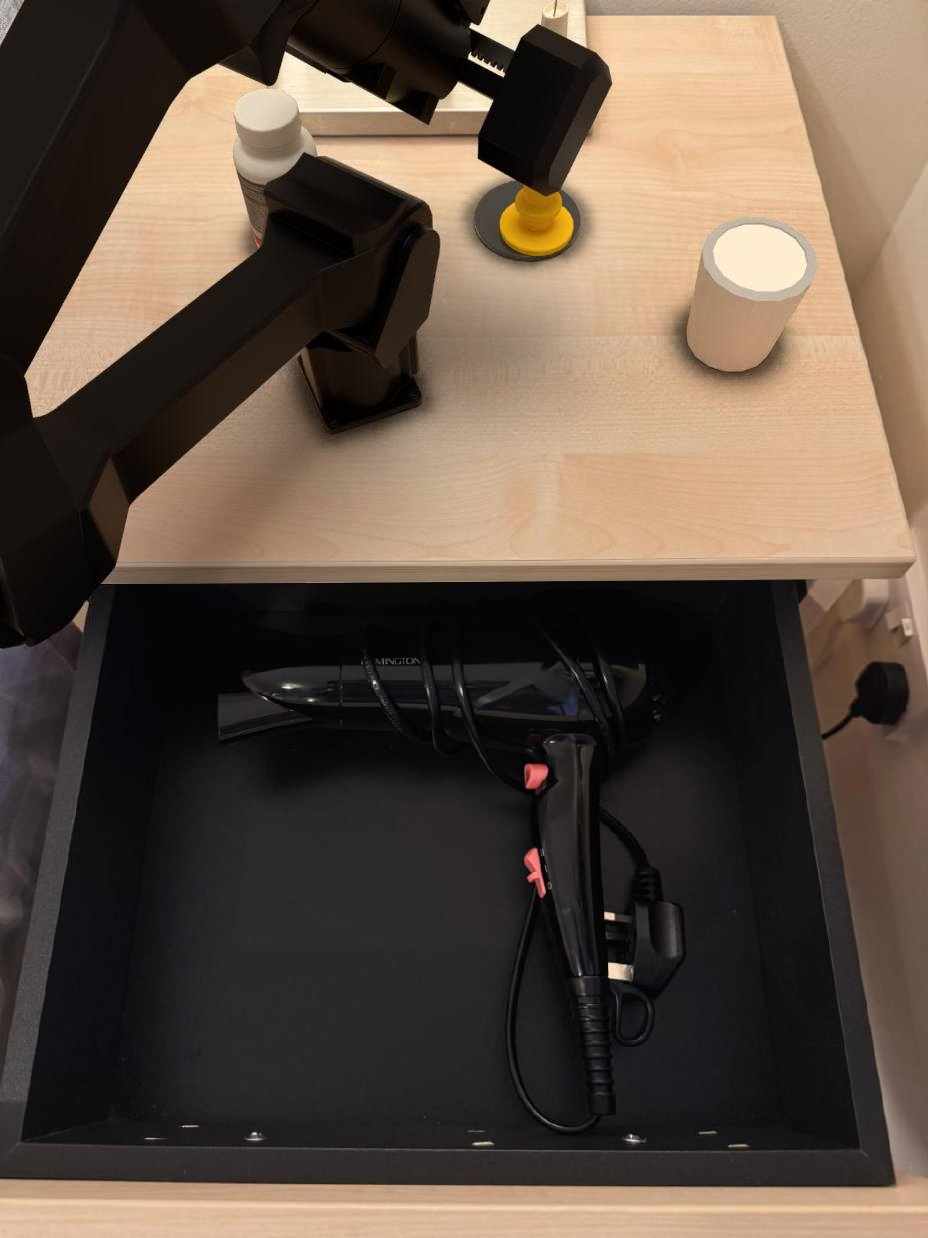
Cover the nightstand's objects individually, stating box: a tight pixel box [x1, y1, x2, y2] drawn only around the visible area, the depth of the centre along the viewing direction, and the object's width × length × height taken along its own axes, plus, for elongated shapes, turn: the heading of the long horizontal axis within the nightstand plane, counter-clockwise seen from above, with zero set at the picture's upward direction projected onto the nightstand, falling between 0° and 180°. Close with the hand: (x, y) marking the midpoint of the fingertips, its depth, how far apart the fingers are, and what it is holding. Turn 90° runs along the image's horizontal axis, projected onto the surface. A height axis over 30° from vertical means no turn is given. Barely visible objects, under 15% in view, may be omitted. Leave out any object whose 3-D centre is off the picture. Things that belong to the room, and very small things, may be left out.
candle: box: [500, 0, 574, 256], centre depth 55 cm, size 5×5×16 cm
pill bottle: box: [232, 88, 319, 249], centre depth 58 cm, size 5×5×10 cm
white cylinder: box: [685, 216, 819, 372], centre depth 56 cm, size 7×7×7 cm
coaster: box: [473, 180, 581, 262], centre depth 63 cm, size 8×8×1 cm
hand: (495, 102), depth 51 cm, fingers open, 9 cm apart
